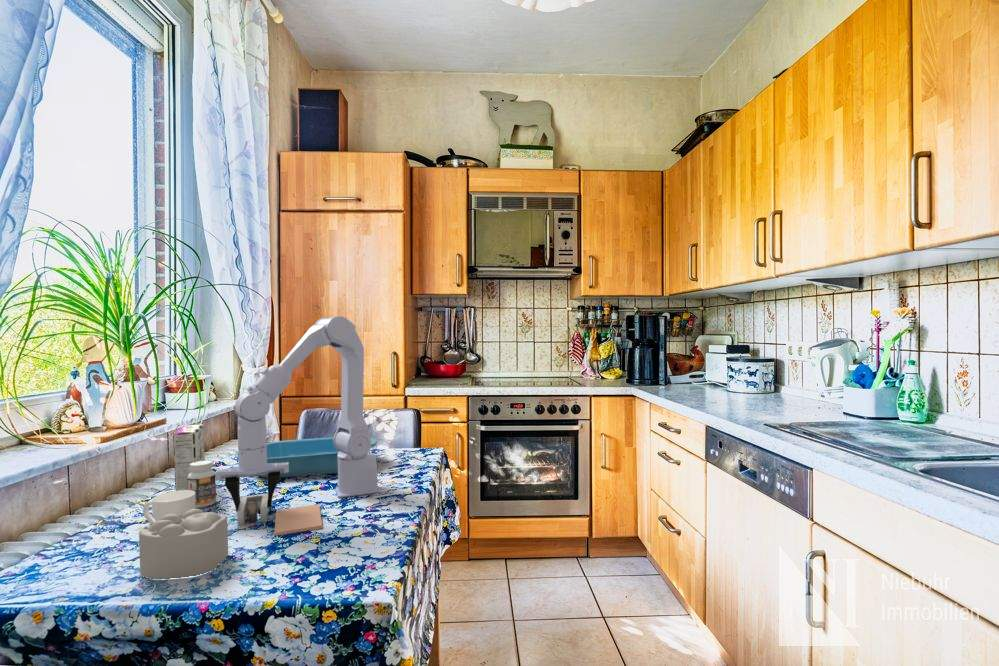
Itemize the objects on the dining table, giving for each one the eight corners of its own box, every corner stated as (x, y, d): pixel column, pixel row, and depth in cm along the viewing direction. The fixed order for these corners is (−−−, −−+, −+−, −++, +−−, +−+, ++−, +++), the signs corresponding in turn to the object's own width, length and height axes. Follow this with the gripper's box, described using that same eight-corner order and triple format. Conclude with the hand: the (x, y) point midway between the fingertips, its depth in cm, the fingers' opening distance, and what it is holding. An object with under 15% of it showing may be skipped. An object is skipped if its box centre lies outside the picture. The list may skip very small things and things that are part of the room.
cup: (184, 534, 103) (183, 501, 103) (132, 537, 102) (131, 503, 102) (203, 520, 111) (202, 489, 111) (155, 522, 110) (154, 491, 110)
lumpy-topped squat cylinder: (207, 577, 85) (206, 525, 85) (124, 583, 83) (122, 530, 83) (234, 550, 95) (232, 504, 95) (160, 555, 94) (158, 508, 94)
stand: (257, 519, 111) (257, 500, 111) (257, 522, 109) (256, 503, 109) (248, 520, 110) (248, 502, 110) (248, 523, 108) (247, 504, 108)
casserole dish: (235, 484, 137) (234, 458, 137) (257, 463, 159) (256, 440, 159) (376, 473, 145) (375, 448, 145) (378, 455, 167) (378, 433, 167)
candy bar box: (184, 487, 135) (182, 425, 135) (206, 484, 137) (204, 423, 137) (173, 500, 125) (172, 433, 125) (197, 497, 127) (195, 431, 126)
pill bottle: (203, 509, 118) (202, 466, 118) (182, 508, 119) (180, 465, 119) (221, 501, 123) (220, 460, 123) (201, 500, 125) (199, 459, 124)
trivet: (319, 506, 118) (318, 504, 118) (322, 528, 105) (322, 525, 105) (276, 512, 114) (276, 510, 114) (274, 535, 101) (274, 532, 101)
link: (269, 507, 118) (268, 493, 118) (267, 521, 109) (266, 506, 109) (242, 510, 116) (241, 496, 116) (237, 526, 107) (237, 510, 107)
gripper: (212, 454, 107) (214, 519, 107) (287, 447, 112) (289, 509, 112) (217, 447, 113) (219, 508, 114) (288, 441, 119) (289, 499, 119)
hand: (254, 508), depth 113 cm, fingers closed on link, 6 cm apart
